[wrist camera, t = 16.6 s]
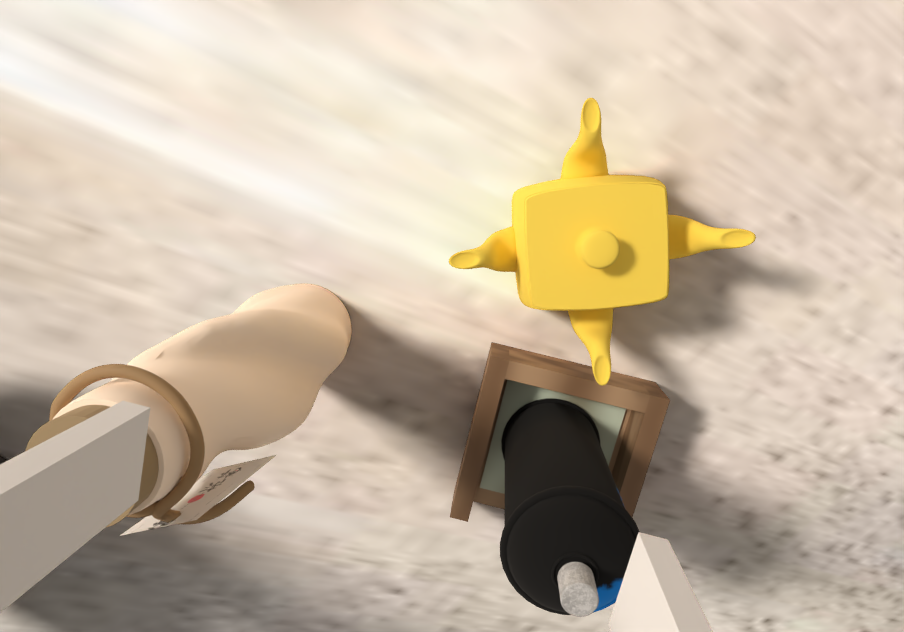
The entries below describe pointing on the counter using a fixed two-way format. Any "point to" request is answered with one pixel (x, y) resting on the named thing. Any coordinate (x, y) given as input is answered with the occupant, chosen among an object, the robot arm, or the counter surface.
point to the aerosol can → (562, 511)
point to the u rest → (539, 376)
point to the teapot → (594, 242)
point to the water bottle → (215, 398)
